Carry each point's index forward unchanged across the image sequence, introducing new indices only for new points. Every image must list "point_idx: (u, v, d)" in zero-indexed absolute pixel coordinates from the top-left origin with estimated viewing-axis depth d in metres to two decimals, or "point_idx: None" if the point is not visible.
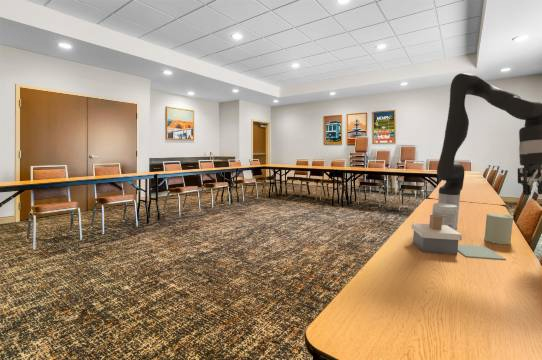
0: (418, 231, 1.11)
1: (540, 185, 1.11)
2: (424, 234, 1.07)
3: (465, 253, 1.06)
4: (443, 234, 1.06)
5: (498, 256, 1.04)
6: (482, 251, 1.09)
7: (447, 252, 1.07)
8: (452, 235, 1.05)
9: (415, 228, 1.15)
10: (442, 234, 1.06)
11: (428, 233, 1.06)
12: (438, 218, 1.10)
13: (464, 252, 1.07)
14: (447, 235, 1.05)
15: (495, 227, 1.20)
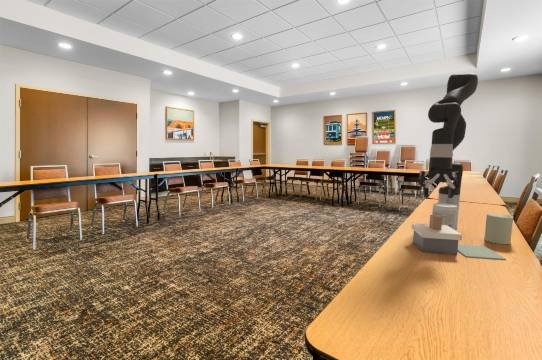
0: (418, 231, 1.11)
1: (449, 189, 1.10)
2: (424, 234, 1.07)
3: (465, 253, 1.06)
4: (443, 234, 1.06)
5: (498, 256, 1.04)
6: (482, 251, 1.09)
7: (447, 252, 1.07)
8: (452, 235, 1.05)
9: (415, 228, 1.15)
10: (442, 234, 1.06)
11: (428, 233, 1.06)
12: (438, 218, 1.10)
13: (464, 252, 1.07)
14: (447, 235, 1.05)
15: (495, 227, 1.20)
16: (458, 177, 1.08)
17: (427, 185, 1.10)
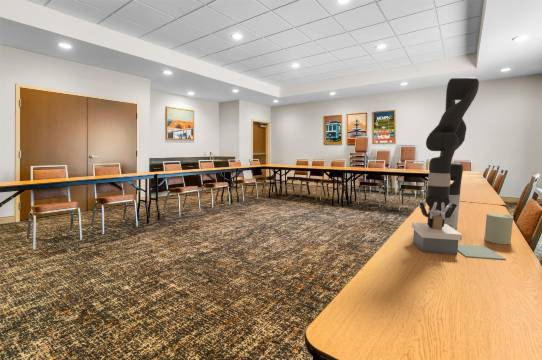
0: (418, 231, 1.11)
1: None
2: (425, 234, 1.07)
3: (465, 253, 1.06)
4: (443, 234, 1.06)
5: (498, 256, 1.04)
6: (482, 251, 1.09)
7: (447, 252, 1.07)
8: (452, 235, 1.05)
9: (415, 227, 1.15)
10: (442, 234, 1.06)
11: (428, 233, 1.06)
12: (438, 218, 1.09)
13: (464, 252, 1.07)
14: (447, 235, 1.05)
15: (495, 227, 1.20)
16: (452, 209, 1.09)
17: (431, 216, 1.11)
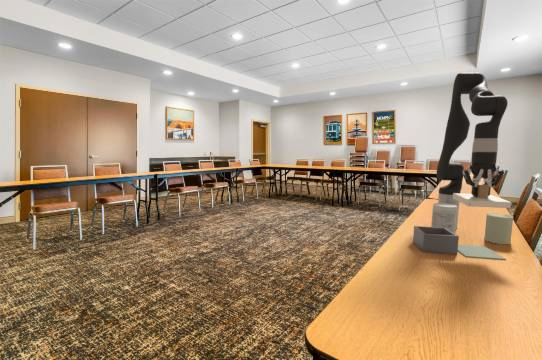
0: (462, 200, 1.07)
1: None
2: (471, 203, 1.02)
3: (465, 253, 1.06)
4: (491, 202, 1.01)
5: (498, 256, 1.04)
6: (482, 251, 1.09)
7: (447, 252, 1.07)
8: (501, 203, 1.00)
9: (458, 198, 1.10)
10: (490, 202, 1.01)
11: (475, 201, 1.02)
12: (485, 186, 1.04)
13: (464, 252, 1.07)
14: (496, 203, 1.00)
15: (495, 227, 1.20)
16: (499, 176, 1.04)
17: (476, 184, 1.06)
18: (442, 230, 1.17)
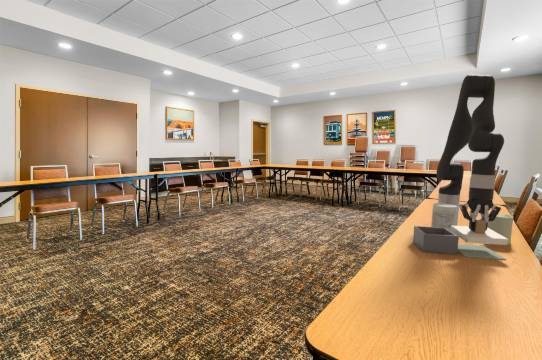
0: (460, 235, 1.08)
1: None
2: (469, 239, 1.03)
3: (465, 253, 1.06)
4: (488, 239, 1.02)
5: (498, 256, 1.04)
6: (482, 251, 1.09)
7: (447, 252, 1.07)
8: (498, 240, 1.01)
9: (456, 231, 1.11)
10: (487, 239, 1.02)
11: (472, 238, 1.03)
12: (482, 222, 1.06)
13: (464, 252, 1.07)
14: (493, 240, 1.02)
15: (495, 227, 1.20)
16: (496, 212, 1.06)
17: (473, 219, 1.07)
18: (442, 230, 1.17)
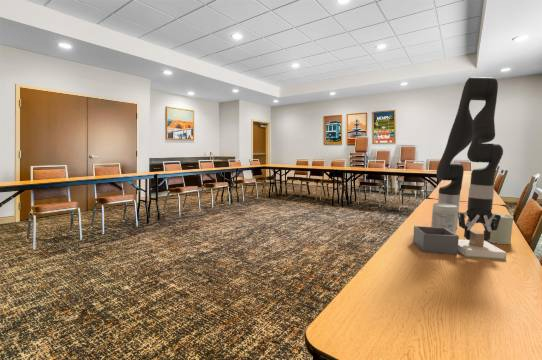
0: (459, 248, 1.09)
1: (485, 231, 1.08)
2: (467, 252, 1.04)
3: None
4: (487, 252, 1.03)
5: None
6: None
7: (447, 252, 1.07)
8: (496, 253, 1.02)
9: None
10: (486, 252, 1.03)
11: (471, 251, 1.04)
12: (480, 235, 1.07)
13: None
14: (491, 253, 1.02)
15: None
16: (497, 220, 1.06)
17: (469, 227, 1.08)
18: (442, 230, 1.17)
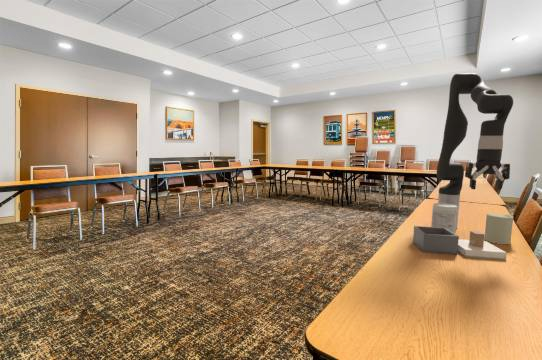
0: (459, 248, 1.09)
1: (497, 181, 1.10)
2: (467, 252, 1.04)
3: None
4: (487, 252, 1.03)
5: None
6: None
7: (447, 252, 1.07)
8: (496, 253, 1.02)
9: None
10: (486, 252, 1.03)
11: (471, 251, 1.04)
12: (480, 235, 1.07)
13: None
14: (491, 253, 1.02)
15: (495, 227, 1.20)
16: (507, 169, 1.07)
17: (475, 177, 1.10)
18: (442, 230, 1.17)
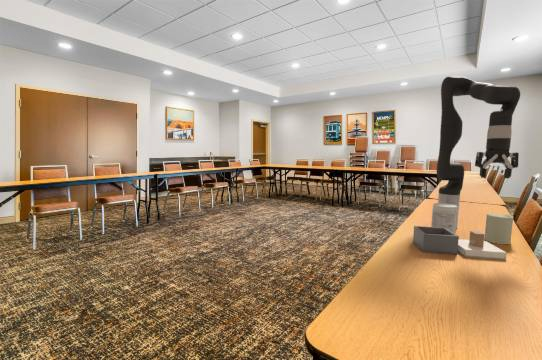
0: (459, 248, 1.09)
1: (506, 169, 1.14)
2: (467, 252, 1.04)
3: None
4: (487, 252, 1.03)
5: None
6: None
7: (447, 252, 1.07)
8: (496, 253, 1.02)
9: None
10: (486, 252, 1.03)
11: (471, 251, 1.04)
12: (480, 235, 1.07)
13: None
14: (491, 253, 1.02)
15: (495, 227, 1.20)
16: (516, 157, 1.11)
17: (485, 166, 1.14)
18: (442, 230, 1.17)
